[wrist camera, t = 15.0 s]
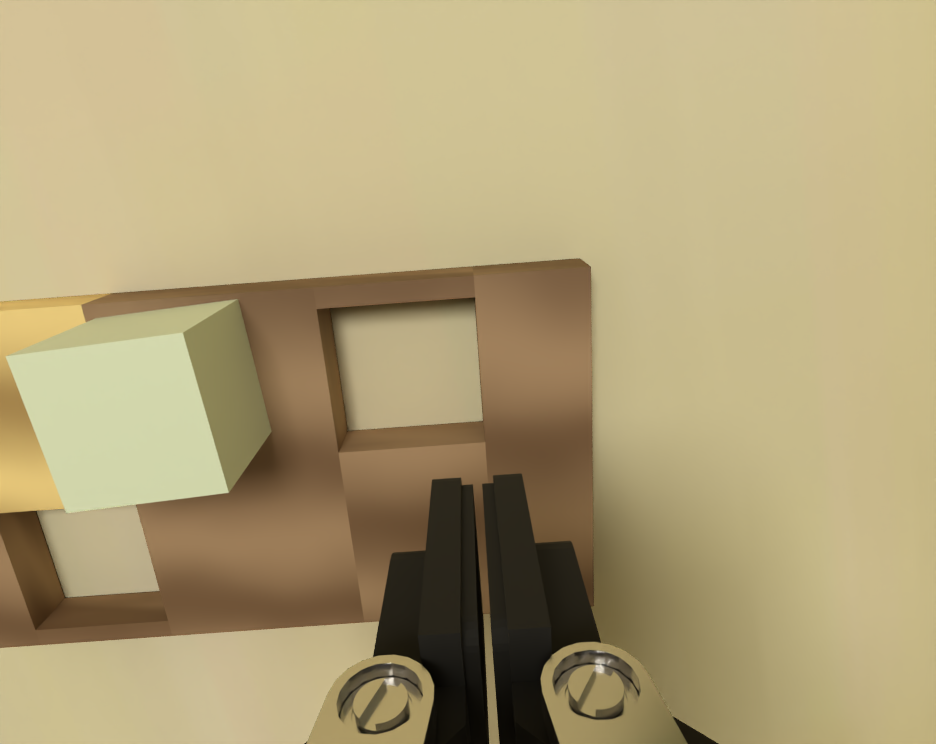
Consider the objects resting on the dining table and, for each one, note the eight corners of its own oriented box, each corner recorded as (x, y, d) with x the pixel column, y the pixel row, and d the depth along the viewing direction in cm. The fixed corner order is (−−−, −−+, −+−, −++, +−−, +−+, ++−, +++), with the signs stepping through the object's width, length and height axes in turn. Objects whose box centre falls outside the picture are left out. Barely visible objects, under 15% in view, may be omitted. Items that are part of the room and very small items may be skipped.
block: (271, 431, 23) (228, 492, 19) (139, 448, 23) (66, 513, 19) (237, 298, 21) (182, 332, 17) (96, 318, 21) (5, 356, 17)
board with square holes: (584, 575, 27) (593, 606, 26) (24, 615, 28) (-8, 648, 26) (579, 258, 23) (591, 266, 21) (-87, 308, 23) (-136, 321, 21)
